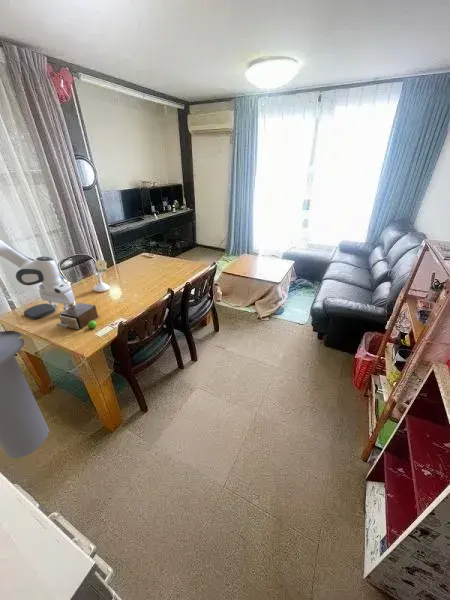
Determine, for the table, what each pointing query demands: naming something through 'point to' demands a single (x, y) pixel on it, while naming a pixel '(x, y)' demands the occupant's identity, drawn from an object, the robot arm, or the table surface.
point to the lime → (92, 324)
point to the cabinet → (82, 313)
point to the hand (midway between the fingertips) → (60, 308)
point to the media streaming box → (39, 311)
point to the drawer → (68, 322)
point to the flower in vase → (100, 286)
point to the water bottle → (70, 289)
